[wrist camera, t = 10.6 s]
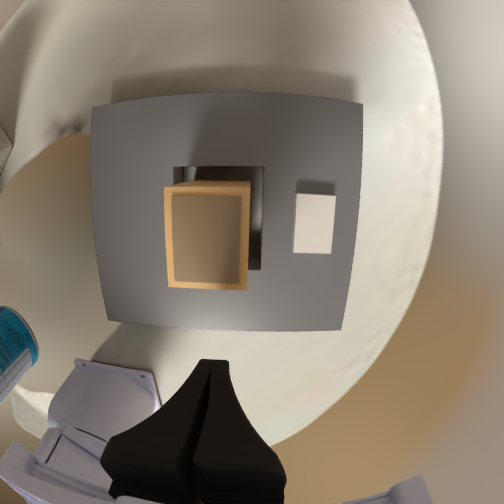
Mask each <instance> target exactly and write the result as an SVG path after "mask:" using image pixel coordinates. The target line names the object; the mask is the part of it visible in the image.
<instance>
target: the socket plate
mask: <svg viewBox="0 0 504 504" xmlns="http://www.w3.org/2000/svg"><path fill="white" fill-rule="evenodd" d="M362 148H363V104H359V103H354V102H348V101H341V100H335V99H328V98H320V97H311V96H301V95H290V94H275V93H249V92H220V93H195V94H180V95H169V96H159V97H151V98H143V99H136V100H129V101H123V102H117V103H112V104H107V105H102V106H97V107H93V108H92V121H91V144H90V182H91V204H92V217H93V229H94V239H95V248H96V256H97V262H98V269H99V275H100V282H101V288H102V293H103V298H104V303H105V308H106V313H107V317H108V320H110V321H117V322H126V323H134V324H144V325H154V326H165V327H177V328H191V329H207V330H229V331H278V332H283V331H332V330H341V327H342V322H343V317H344V312H345V306H346V301H347V295H348V289H349V283H350V277H351V270H352V263H353V256H354V249H355V241H356V232H357V223H358V213H359V201H360V188H361V172H362ZM188 166H250V167H263V179H262V210H261V239H260V258H248V280H247V290H219V289H197V288H178V287H169V286H168V274H167V259H166V242H165V216H164V187H166V186H170V185H174V184H178V183H183V167H188Z"/></svg>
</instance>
